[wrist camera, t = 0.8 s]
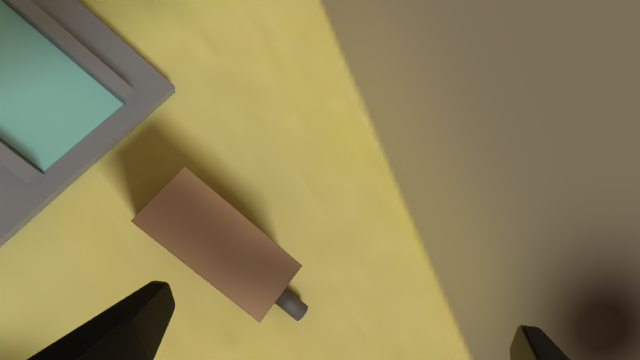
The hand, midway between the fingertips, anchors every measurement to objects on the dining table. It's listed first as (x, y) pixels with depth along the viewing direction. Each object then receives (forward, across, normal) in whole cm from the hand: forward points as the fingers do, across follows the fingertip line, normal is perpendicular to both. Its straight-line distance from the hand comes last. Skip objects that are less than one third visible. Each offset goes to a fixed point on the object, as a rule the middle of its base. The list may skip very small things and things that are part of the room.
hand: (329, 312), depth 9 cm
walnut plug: (+11, +8, +9) cm, 16 cm away
